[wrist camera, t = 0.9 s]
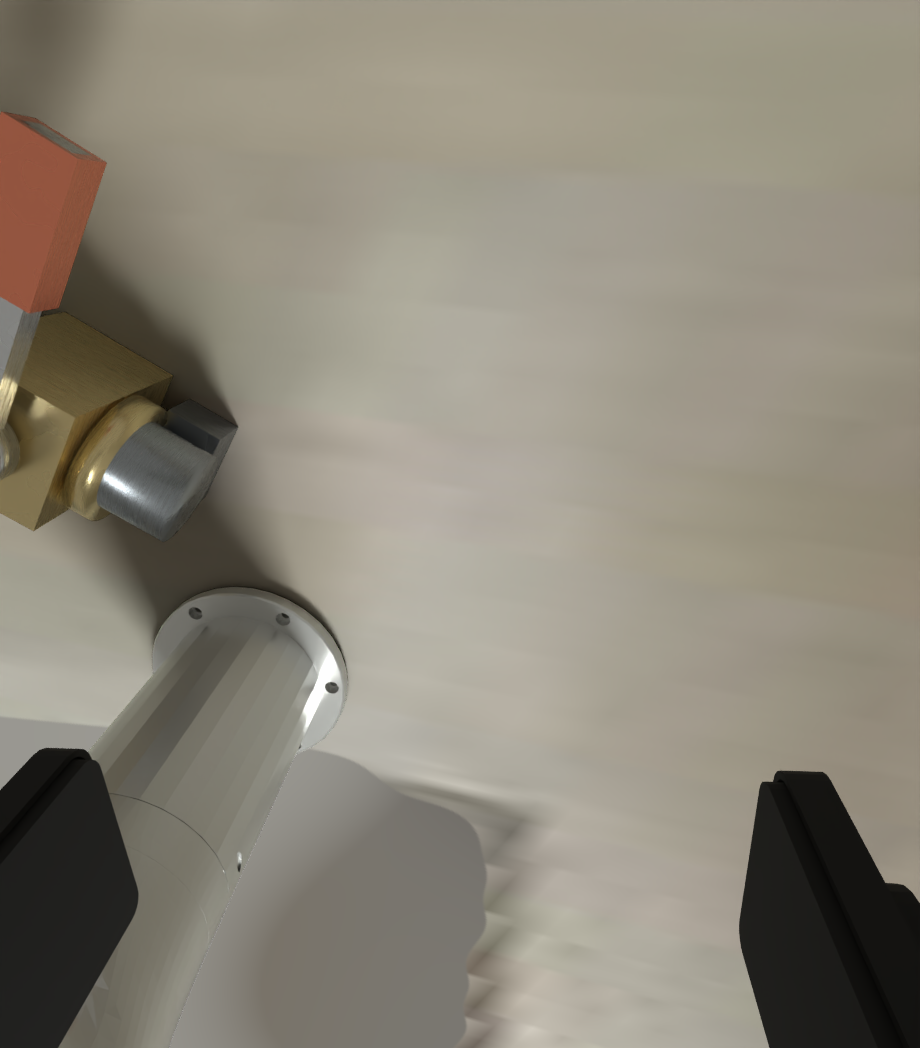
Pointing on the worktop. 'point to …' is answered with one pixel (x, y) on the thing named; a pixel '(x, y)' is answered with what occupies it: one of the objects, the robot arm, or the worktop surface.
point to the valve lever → (35, 242)
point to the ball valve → (106, 436)
